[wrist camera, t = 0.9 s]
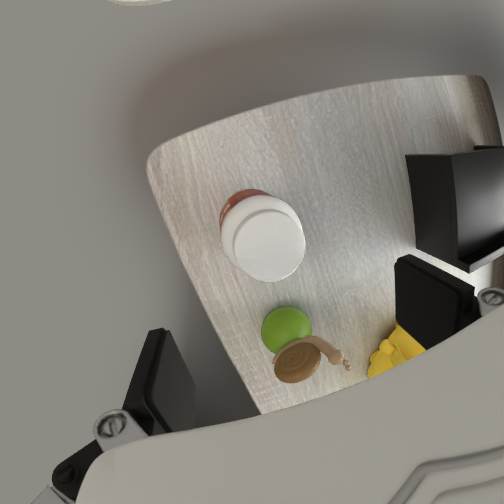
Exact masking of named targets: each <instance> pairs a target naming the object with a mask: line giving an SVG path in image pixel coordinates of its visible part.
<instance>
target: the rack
mask: <svg viewBox="0 0 504 504" xmlns="http://www.w3.org/2000/svg"><path fill="white" fill-rule="evenodd" d="M405 157H406V162H407V168H408V174H409V181H410V187H411V195H412V203H413V212H414V222H415V235H416V249H418V250H421V251H423V252H425V253H427V254H429V255H432V256H434V257H436V258H438V259H440V260H442V261H444V262H446V263H448V264H451V265H453V266H455V267H457V268H459V269H461V270H463V271H465V272H467V273H469V274H470V273H471V272H473V271H475V270H477V269H479V268H480V267H482V266H484V265H485V264H487V263H489V262H490V261H492V260H494V259H495V258H497V257H499V256H500V255H502V254H504V146H484V145H476V146H474V151H469V152H462V153H455V154H410V155H405Z"/></svg>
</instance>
